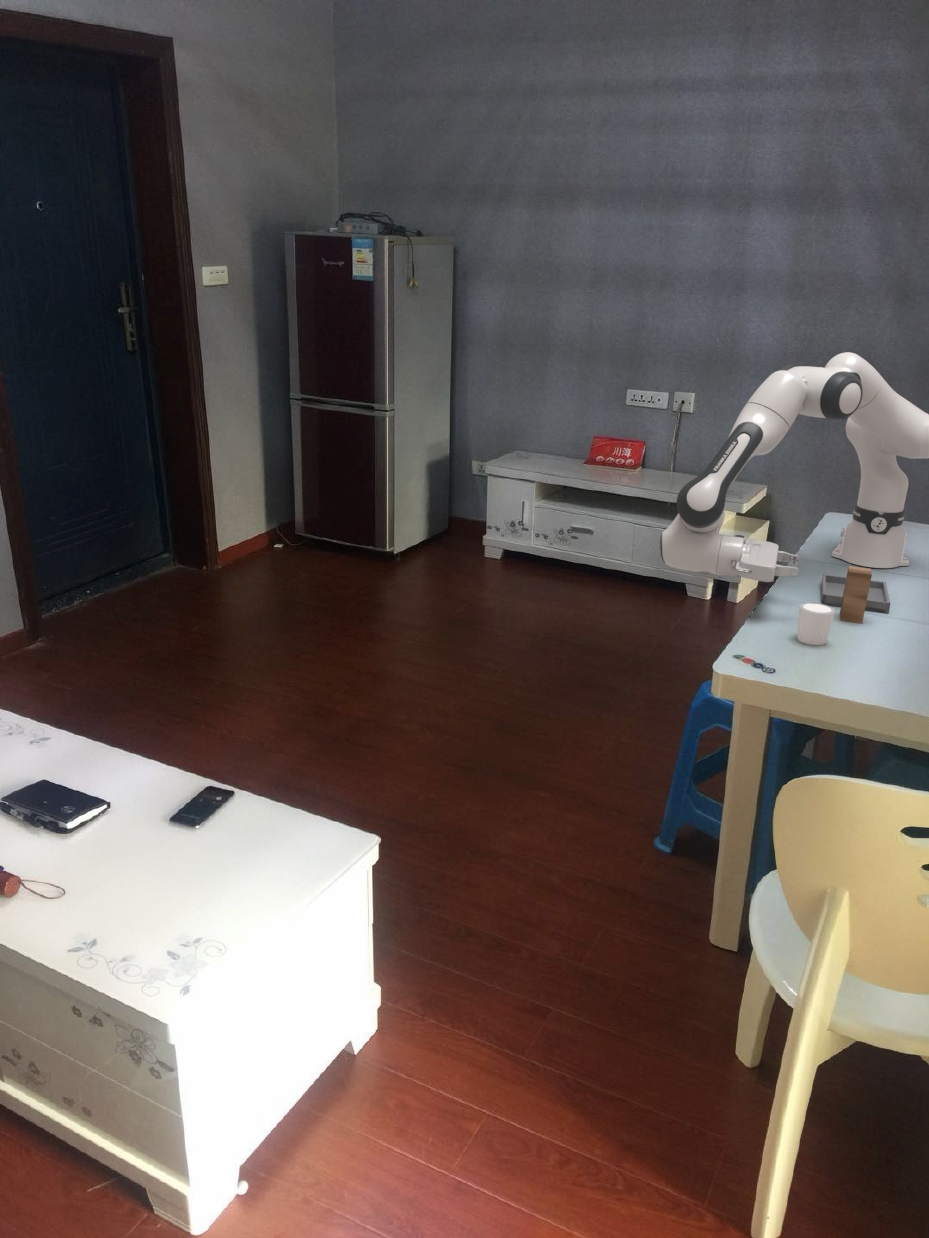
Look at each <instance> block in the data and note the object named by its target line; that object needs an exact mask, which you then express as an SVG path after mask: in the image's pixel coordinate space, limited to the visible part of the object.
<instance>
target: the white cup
mask: <svg viewBox="0 0 929 1238" xmlns="http://www.w3.org/2000/svg"><path fill="white" fill-rule="evenodd" d="M798 608H799V609H798V619H797V620H798V622H797V634H796V635H797V637H796V639H797V638H798V639H797V640H798V641H799V642H801V643H803V644H806V645H810V646H823V645H825V644H826V643H827V641H828V637H829V634H830V630H831V626H832V623H833V621H834V616H835V613H836V610H835V608H833V606H829V605H824V604H822V603H819V602H804V603H800V604H799V606H798Z"/></svg>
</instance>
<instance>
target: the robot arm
mask: <svg viewBox="0 0 929 1238" xmlns="http://www.w3.org/2000/svg"><path fill="white" fill-rule="evenodd" d="M872 365H873V364H872ZM872 365H871V364H870V362H868V361H867V360H866V359H864V358H863V357H862V356H860V355H859V354H857V353H854V352H848V351H847V352H846V351H845V352H841V353H839V354H836V355H835V356H833V357H832V358H831V359H829V361H827V363H826V364H825V365H824V367H822V366H811V365H810V366H809V365H808V366H806V365H800V364H793V365H792V364H791V365H786V366H784V367H782V368H780V369H779V370H776V371H775V372H773V373H770V375H769V376H767V378H766V379H765V380H764V381H763V382H762V383H761V384H760V385H759V387H758V388H757V389H756V390H755V391H754V393H753V394H752V395H751V396H750V398H749V399H748V401H747V403H745V405H744V406H743V408H742V410H741V411H740V413H739V414H738V416H737V418H736V421H735V422H734V424H733V427H732V429H731V431H730V433H729V435H728V437H727V439H726V441H724V443H723V445H722V446H721V447H720V449H719V450H718V451H717V453H716V455H715V456H714V457H713V458H712V460H711V461H710V463H709V464H708V465H707V467H706V468H705V469H704V470H703V471H702V472H701V473H700V474H699V475H697V476H696V477H694V478H693V479H692V480H690V481H689V482H687V483H686V484H684V486H682V488H681V489H680V490H679V492H678V493H677V497H676V503H675V504H676V505H675V506H676V510H677V515H676V516H675V518H674V519H673V521H672V522H671V523H670V525H668V527H667V528H666V529H664V530H663V531H661V534H660V536H659V537H660V539H659V552H660V558H661V560H662V562H663V563H664V564H665V565H666V566H669V568H670V567H671V568H674V569H677V570H682V571H688V572H693V573H694V572H695V573H700V572H707V573H710V574H713V575H717V576H722V577H723V576H724V577H729V578H730V577H731V578H736V579H737V578H739V577H741V578H744V579H746V580H747V579H748V580H754V581H759V582H765V583H772V582H774V580H775V576H776V577H788V576H790V577H791V576H792V577H797V576H798V575H799V571H800V568H799V567H798V566H797V565H798V564H800V563H799V562H800V556H799V555H798V554H791V553H789V552H786V551H783V550H779V546H780V545H779V544H777V543H774V542H771V541H767V540H762V539H755V538H750V537H749V538H747V537H746V535H743V534H735V535H722V534H719V533H720V531H721V528H722V526H723V524H724V522H725V515H726V513H725V512H726V511H725V510H726V509H725V506H726V498H727V493H728V490H729V488H730V487H731V485H732V484H733V482H734V481H735V480H736V478H737V477H738V476H739V474H740V473H741V471H742V469H744V467H745V466H746V465H747V463H748V462H749V461H750V460H751V459H752V458H753V457H755V456H764V455H767V454H770V453H771V452H772V451H773V450H774V449H775V448H776V447H777V446H778V444H780V443H781V441H782V440H783V439H784V437H785V436H786V434H787V433H788V432H789V430H790V429H791V427H792V425H793V423H795V420H796V419H797V417H798V415H803V416H804V417H805V416H806V417H813V418H819V419H827V420H830V421H840V420H846V419H847V420H846V423H845V433H846V438H847V439H848V441H849V442H850V443H851V444H852V446H853V447H854V449H855V452H856V454H857V457H858V461H859V465H860V481H859V483H860V484H859V491H858V496H857V503H856V504H855V505H854V508H853V511H852V512H853V513H852V521H850V523H848V524H847V525H846V526H845V527H843V528H841V531H840V537H841V538H842V539H840V542H839V543H837V546H836V547H835V548H834V549H833V551H832V552H831V553H830V554H831V557H833V558H837V559H840V560H843V561H845V562H847V563H849V564H852V565H853V564H854V565H857V566H861V567H865V568H866V567H867V568H875V569H894V568H897V567H905V566H910V561H909V559H908V558H906V557H905V556H904V551H905V546H906V540H907V532H906V531H905V529H904V528H903V527H902V525H903V523H904V519H905V510H904V508H905V503H906V498H907V493H908V489H909V479H908V475H906V473H905V472H904V471H903V470H902V469H901V468H900V467H899V464H898V461H897V456H898V457H902V458H907V459H919V460H920V459H929V413H927V412H925V411H923V410H922V409H921V408H919V407H917V406H916V405H915V404H913V402H911V401H909V400H908V399H906V398H904V397H903V396H902V395H900V394H898V392H896V391H895V390H894V389H893V388H892V387H891V386H890V385H889V384H888V381H886V380H885V379H884V377H883V376H882V375H881V373H879V371H877V369H875V367H874V366H872ZM777 562H779V563H782V562H784V563H789V565H790V566H788V565H787V566H786V565H782V564H778V563H777ZM795 565H796V566H795Z"/></svg>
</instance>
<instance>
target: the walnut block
mask: <svg viewBox="0 0 929 1238" xmlns="http://www.w3.org/2000/svg"><path fill="white" fill-rule="evenodd" d="M846 573H847V574H846V576H845V577H846V582H845V587H844V593H843V598H842V603H841V607H840V609H839V621H841V622H846V623H847V622H848V623H856V624H862V625H863V621H864V616H865V611H866V610H865V607H866V602H867V597H868V592H869V587H870V582H871V579H872V575H873V573H872V569H871V568H869V567H867V568H866V567H859V566H852V565H851V566H849V565H848V567H847V571H846Z"/></svg>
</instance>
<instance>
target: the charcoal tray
mask: <svg viewBox="0 0 929 1238" xmlns="http://www.w3.org/2000/svg"><path fill="white" fill-rule="evenodd" d="M846 577H847V576H841V575H832V574H831V575H830V574H825V573H824V574H822V578H821V583H820V584H821V585H820V589H821V592H820V594H821V595H820V598H821V599H820V600H821V604H824V605H827V606H830V607H837V608H841V603H842V598H843V593H844V587H845V582H846ZM889 595H890V594H889V591H888V587H887V582H886V581H878V580H871V582H870V587H869V592H868V597H867V602H866V607H865V611H867V612H874V613H879V614H880V613H881V614H889V613H890V612H889V611H890V608H891V599H890V596H889Z"/></svg>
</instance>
